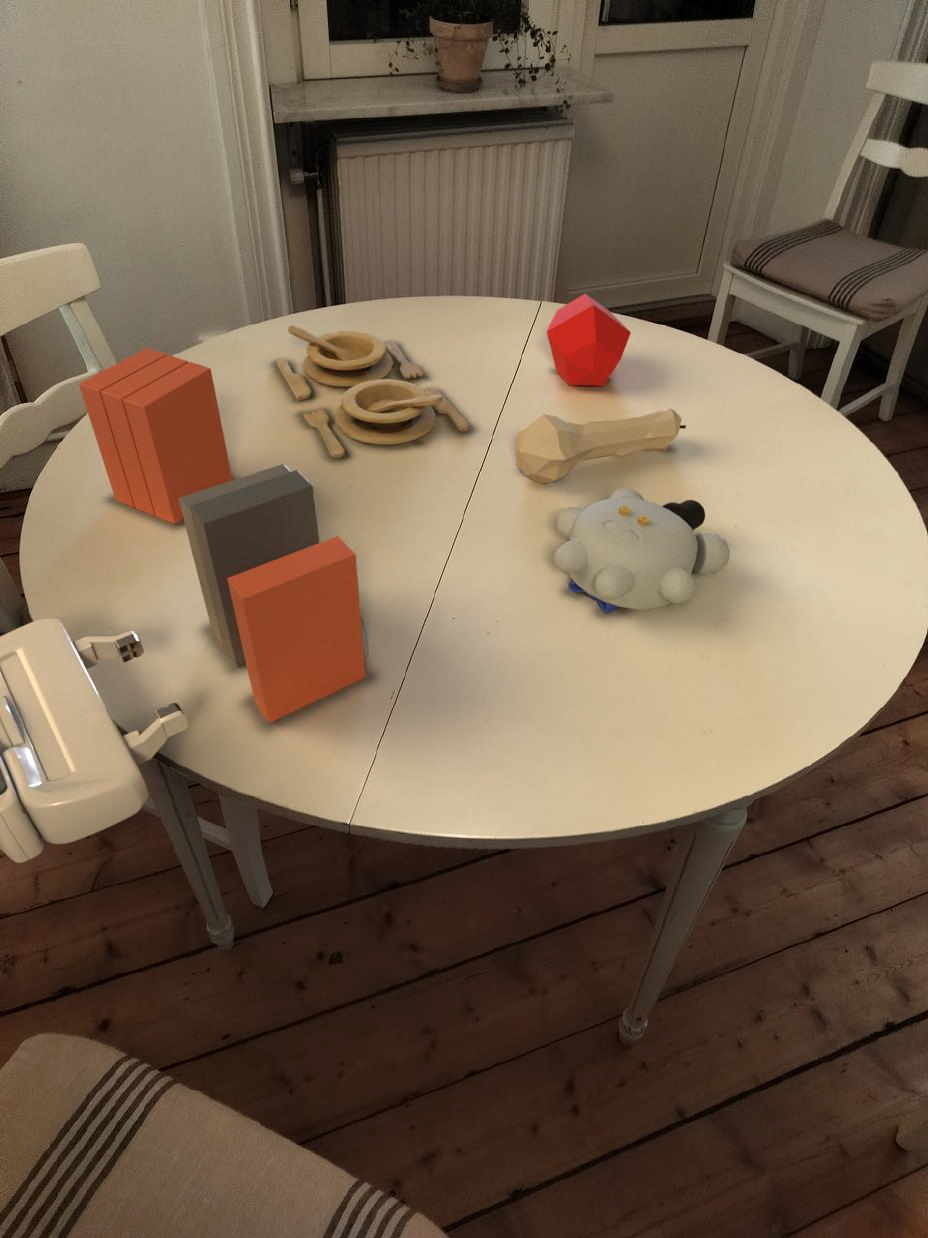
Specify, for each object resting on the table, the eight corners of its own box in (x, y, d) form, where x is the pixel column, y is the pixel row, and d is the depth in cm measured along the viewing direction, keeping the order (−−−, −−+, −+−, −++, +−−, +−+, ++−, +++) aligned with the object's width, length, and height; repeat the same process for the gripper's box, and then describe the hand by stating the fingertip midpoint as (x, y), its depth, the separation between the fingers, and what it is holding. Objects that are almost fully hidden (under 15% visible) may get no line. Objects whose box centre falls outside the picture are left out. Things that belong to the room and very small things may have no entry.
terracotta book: (269, 723, 74) (242, 599, 64) (254, 702, 76) (226, 577, 66) (365, 677, 79) (355, 554, 68) (350, 658, 80) (338, 535, 70)
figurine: (639, 655, 81) (746, 583, 93) (661, 585, 76) (771, 518, 87) (512, 570, 90) (624, 514, 102) (523, 502, 85) (640, 451, 96)
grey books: (236, 667, 79) (203, 523, 68) (211, 630, 83) (175, 488, 71) (329, 626, 84) (313, 485, 72) (302, 593, 87) (281, 453, 75)
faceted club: (495, 456, 106) (657, 425, 114) (524, 506, 102) (688, 470, 111) (511, 403, 98) (682, 375, 107) (542, 455, 94) (717, 422, 103)
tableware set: (472, 432, 111) (473, 392, 107) (331, 462, 105) (327, 421, 101) (392, 340, 131) (391, 303, 127) (270, 361, 125) (264, 323, 121)
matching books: (175, 524, 95) (144, 406, 85) (115, 500, 98) (78, 383, 88) (233, 482, 101) (210, 367, 91) (175, 460, 105) (147, 347, 94)
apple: (541, 400, 121) (533, 335, 129) (623, 405, 122) (610, 340, 130) (557, 331, 111) (547, 265, 119) (645, 337, 112) (630, 271, 121)
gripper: (-42, 694, 68) (125, 629, 74) (27, 882, 56) (219, 786, 63) (-73, 639, 64) (106, 575, 70) (-6, 831, 52) (203, 734, 58)
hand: (160, 676), depth 66 cm, fingers open, 8 cm apart
